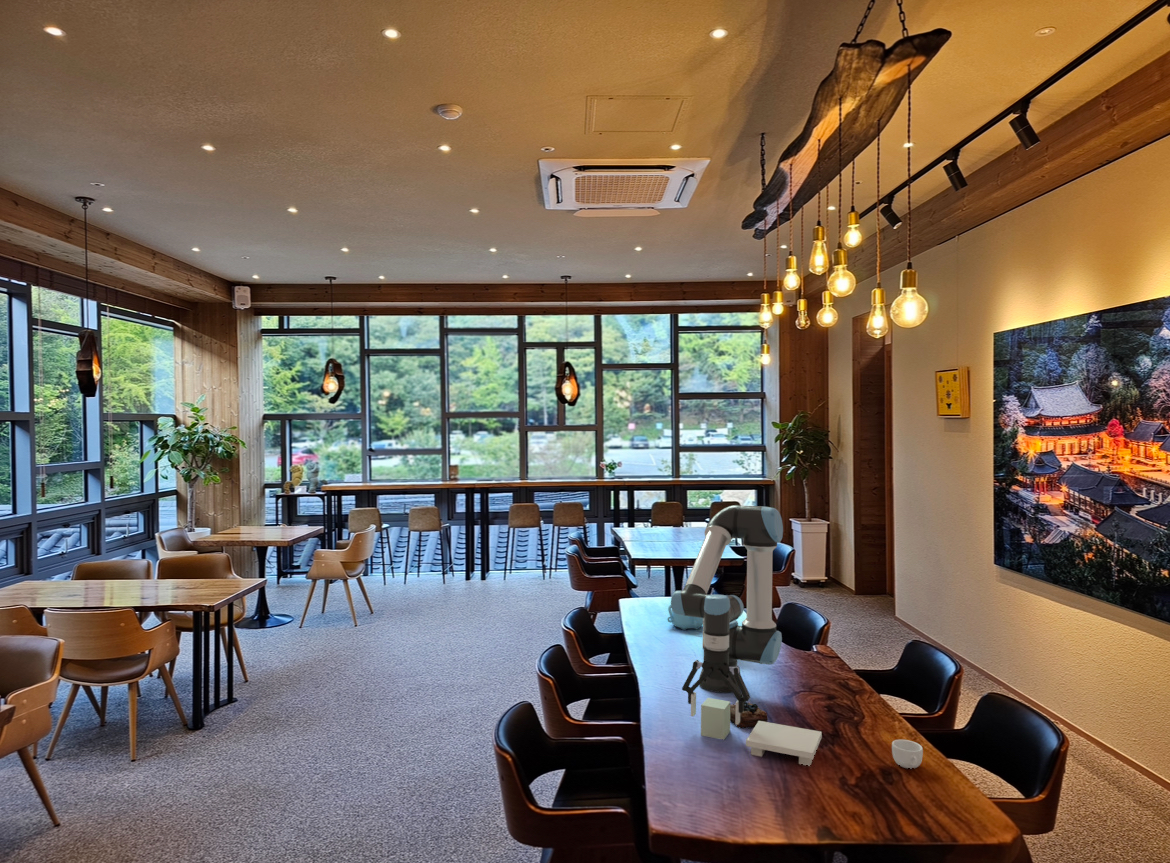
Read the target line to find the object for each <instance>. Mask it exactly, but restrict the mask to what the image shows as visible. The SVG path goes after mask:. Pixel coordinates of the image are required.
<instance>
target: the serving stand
mask: <svg viewBox="0 0 1170 863" xmlns="http://www.w3.org/2000/svg"><path fill="white" fill-rule="evenodd" d="M822 734H823V733H822V731H820V730H814V729H808V728H802V727H798V726H792V725H785V724H779V723H774V722H769V721H768V722H764V721H758V723H757V724H756V726H755V727H754V728H752V730H751V732H750V733H749V735H748V737H747V738H746V739H745V747H749V748H750V752H751V753H750V755H752V756H756V757H763V756H764V754H765V752H766V751H770V752H774V753H778V754H779V753H780V754H783V755H785V754H786V755H790V756H795V757H798V764H799V765H801V764H803V765H802V766H806V765H808V766H807V767H811V766H810V765H812V762H813V761H814V757H815V756H816V752H817V751H816V750H818V748H819V745H820V742H821V740H822V738H823V735H822ZM814 755H815V756H814ZM812 760H813V761H812Z"/></svg>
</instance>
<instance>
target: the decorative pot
mask: <svg viewBox="0 0 1170 863" xmlns="http://www.w3.org/2000/svg"><path fill="white" fill-rule="evenodd" d="M667 609H668V614H669V616H668V617H667V619H666V621H667V622H668V623H672V625H673V626H675V627H676V628H680V630H681V629H682V631H685V630H687V629H695V630H698V629H700V628H701V627H703V618H699V617H692V616H683V615H679V614H675V613H674V612H673V611H672V608H671V604H670V605H669V606H668V608H667Z"/></svg>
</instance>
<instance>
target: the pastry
mask: <svg viewBox="0 0 1170 863" xmlns="http://www.w3.org/2000/svg"><path fill="white" fill-rule="evenodd" d="M735 716H736V703H732V704H730V723H732V724H733V723H734V724H733V725H735V726H736V724H735ZM768 720H769V719H768V712H766V711H765V710H762V709H761V708H760V707H759V705H758V704H757V703H755V702H754V703H750V702H748V701H744V711H743V712H742V713H740V723H739V724H738V725H737V726H736V728H739V727H740V729H754V727H755V726H756V724H757V723H758V721H764V722H769V721H768Z"/></svg>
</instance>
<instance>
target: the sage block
mask: <svg viewBox="0 0 1170 863" xmlns="http://www.w3.org/2000/svg"><path fill="white" fill-rule="evenodd" d="M730 705H731V701H728V700H723V699H717V698H713V697H712V698H711V697H707V698H706V699H705V700H704V701H703V702H702V703H701V706H700V736H701V737H702V736H703V737H707V738H708V737H709V738H713V739H719V740H722V739H723V740H725V739H726V738H727V736H728V735H729V734H730V733H731V721H730Z"/></svg>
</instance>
